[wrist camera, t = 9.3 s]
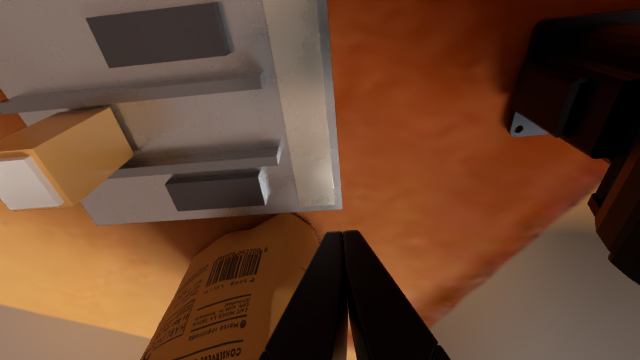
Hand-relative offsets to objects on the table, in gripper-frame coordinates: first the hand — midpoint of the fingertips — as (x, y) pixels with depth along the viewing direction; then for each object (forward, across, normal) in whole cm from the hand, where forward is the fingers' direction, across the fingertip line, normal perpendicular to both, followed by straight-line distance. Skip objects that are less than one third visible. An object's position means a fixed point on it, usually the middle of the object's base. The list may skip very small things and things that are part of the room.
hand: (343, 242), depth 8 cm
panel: (+12, +9, 0) cm, 15 cm away
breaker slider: (+10, +14, 0) cm, 17 cm away
